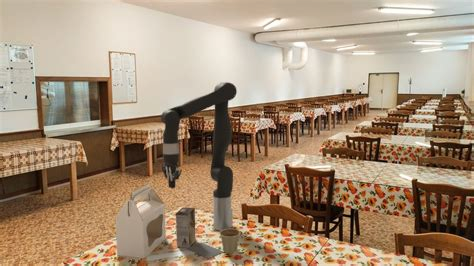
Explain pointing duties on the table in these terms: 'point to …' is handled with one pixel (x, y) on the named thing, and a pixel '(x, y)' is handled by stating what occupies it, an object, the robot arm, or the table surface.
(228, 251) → the flower pot
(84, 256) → the table surface
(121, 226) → the gable box
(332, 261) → the table surface
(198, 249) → the grey flat slab
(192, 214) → the coffee box
